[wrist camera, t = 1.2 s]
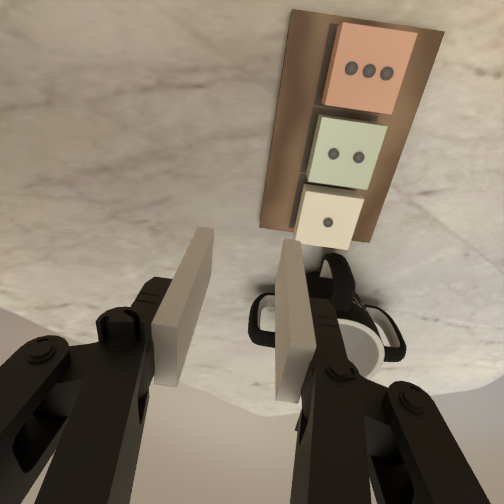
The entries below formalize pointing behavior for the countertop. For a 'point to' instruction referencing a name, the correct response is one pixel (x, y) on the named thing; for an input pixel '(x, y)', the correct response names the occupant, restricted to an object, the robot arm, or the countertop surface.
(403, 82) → the board
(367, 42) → the key
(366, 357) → the mug
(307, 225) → the key
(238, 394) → the countertop surface
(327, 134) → the key
